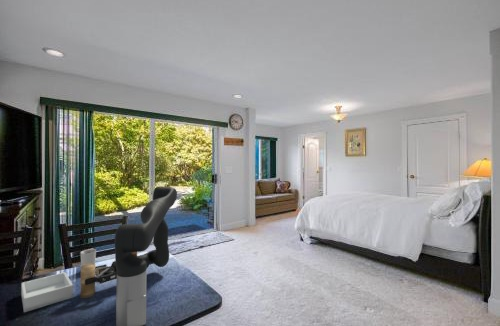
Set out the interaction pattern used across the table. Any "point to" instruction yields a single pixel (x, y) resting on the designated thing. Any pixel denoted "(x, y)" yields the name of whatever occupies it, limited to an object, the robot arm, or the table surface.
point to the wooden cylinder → (86, 273)
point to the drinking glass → (88, 257)
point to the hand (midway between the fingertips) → (82, 278)
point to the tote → (46, 291)
